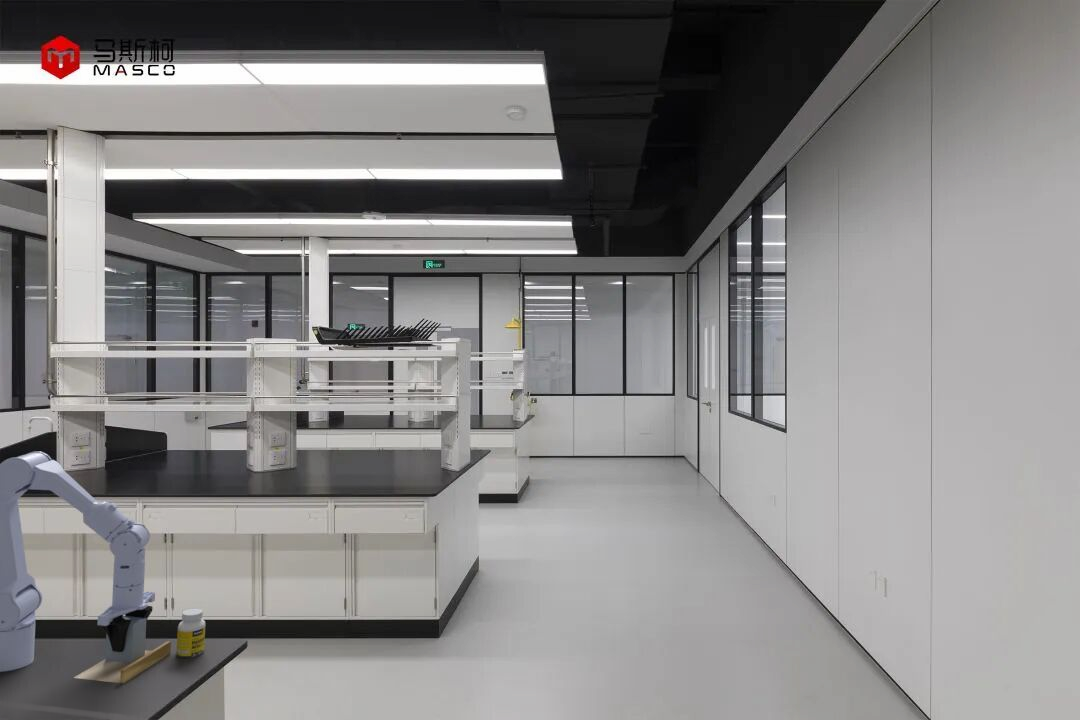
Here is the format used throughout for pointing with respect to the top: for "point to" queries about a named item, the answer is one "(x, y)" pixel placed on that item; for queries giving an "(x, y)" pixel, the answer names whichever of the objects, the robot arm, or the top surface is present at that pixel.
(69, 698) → the top surface
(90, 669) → the shelf board
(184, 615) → the supplement bottle
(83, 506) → the robot arm
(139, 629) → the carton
